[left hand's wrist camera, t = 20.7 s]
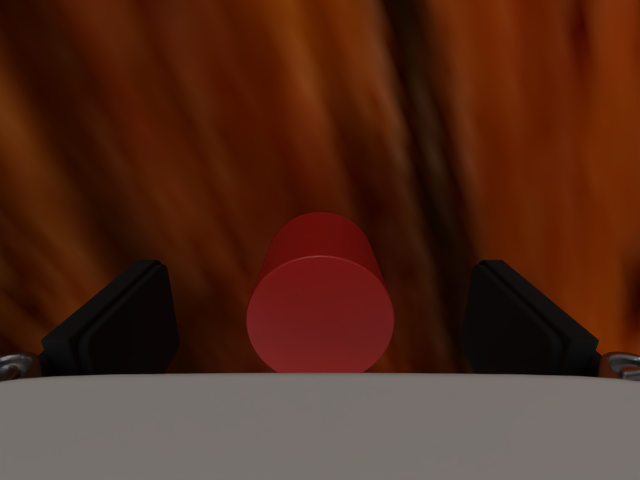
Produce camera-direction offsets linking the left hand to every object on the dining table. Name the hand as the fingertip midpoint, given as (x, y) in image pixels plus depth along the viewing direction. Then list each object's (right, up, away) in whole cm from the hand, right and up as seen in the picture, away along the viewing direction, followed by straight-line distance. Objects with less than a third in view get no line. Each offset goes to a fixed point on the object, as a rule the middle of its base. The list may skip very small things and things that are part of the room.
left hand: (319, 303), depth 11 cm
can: (0, +1, +4) cm, 4 cm away
